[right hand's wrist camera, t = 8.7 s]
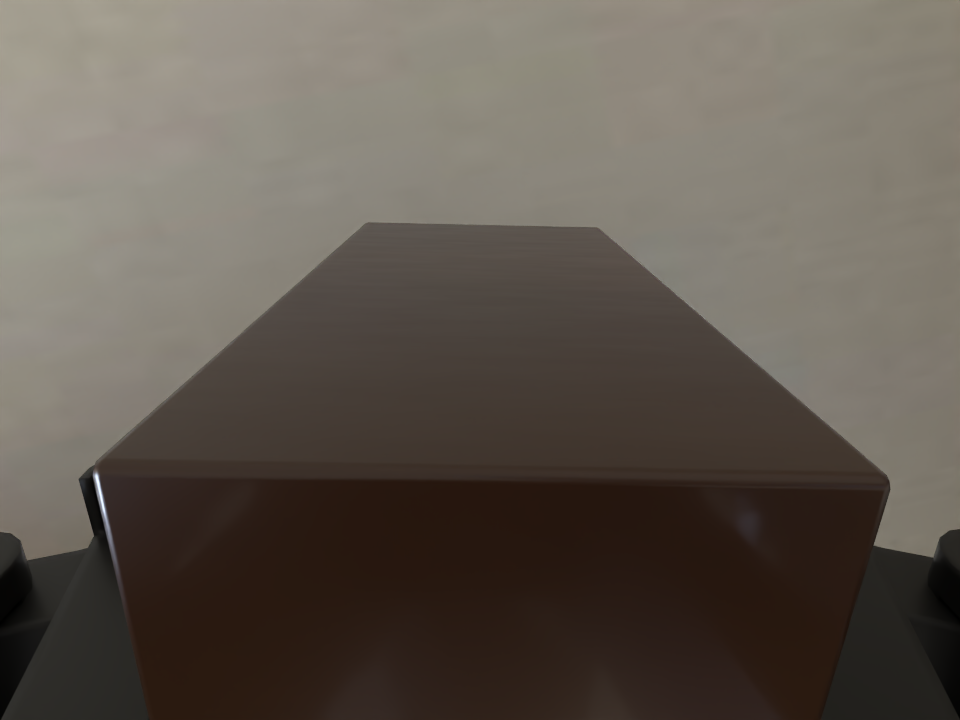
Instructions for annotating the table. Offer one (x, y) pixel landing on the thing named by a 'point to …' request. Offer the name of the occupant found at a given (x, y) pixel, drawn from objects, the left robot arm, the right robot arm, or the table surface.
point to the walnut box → (486, 501)
